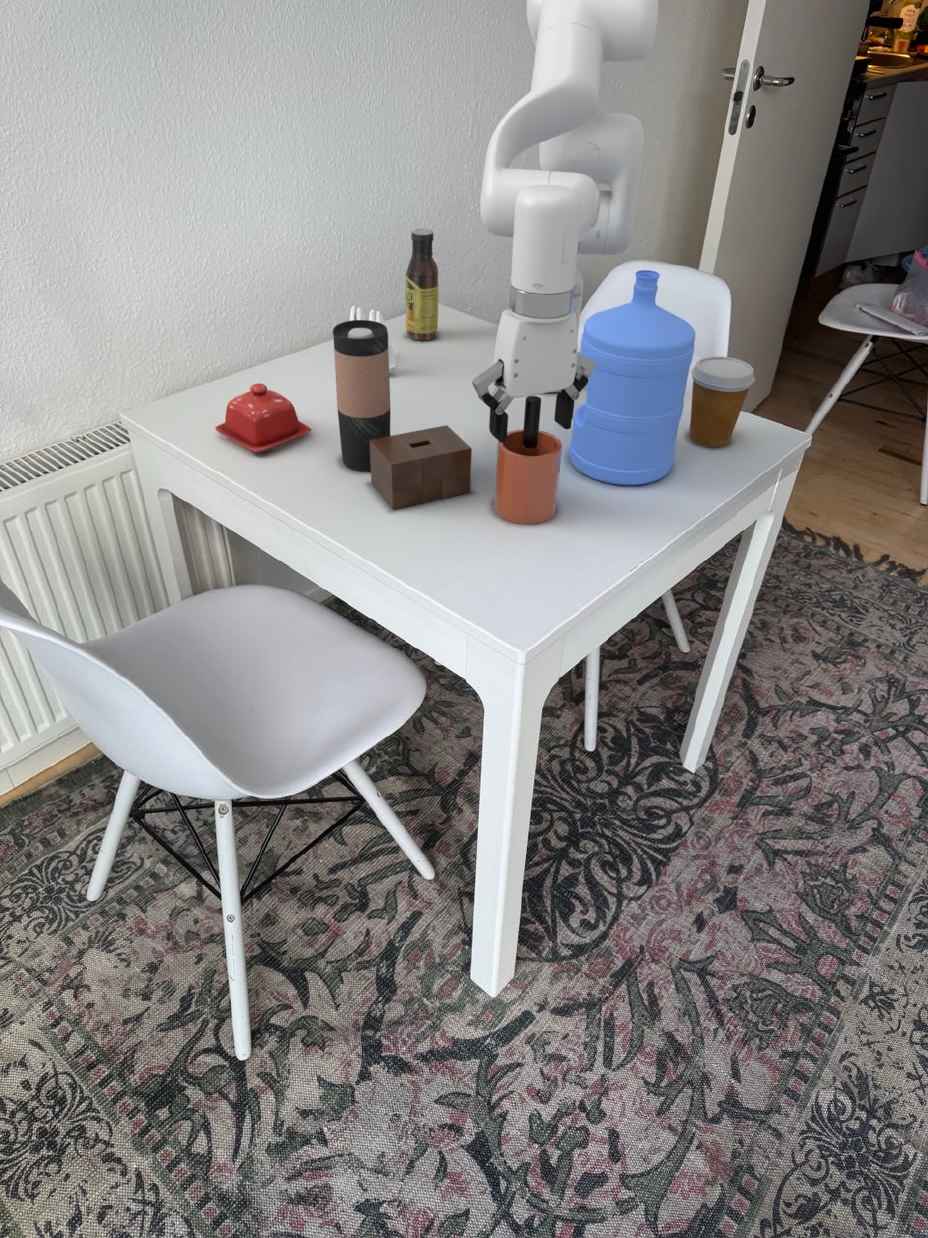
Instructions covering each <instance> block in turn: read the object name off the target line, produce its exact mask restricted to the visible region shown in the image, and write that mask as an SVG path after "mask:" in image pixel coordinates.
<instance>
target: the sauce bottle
mask: <svg viewBox="0 0 928 1238" xmlns="http://www.w3.org/2000/svg"><path fill="white" fill-rule="evenodd" d="M410 237H411V242H412V243H411V246H412V250H411V255H410V256H411V257H410V260H409V262H408V266H407V270H406V272H405V328H406V334H407V336H408V337H409V338H410V339H411V340H414V341H431V340H434V339H435V338H436V337H437V335H438V328H439V267H438V265H437V262H436V261H435V259H434V257H433V255H434V253H433V242H434V231H433V230H432V229H430V228H429V229H428V228H420V227H419V228H415V229H413V230H411V236H410Z"/></svg>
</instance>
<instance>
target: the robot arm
mask: <svg viewBox="0 0 928 1238" xmlns="http://www.w3.org/2000/svg"><path fill="white" fill-rule="evenodd" d="M526 18H527V25H528V30H529V33H530V37H531V39H532V43H533V45H534V48H535V53H534V61H533V69H532V76H531V84H530V86H531V87H530V91H529V92H528V93H527V94H526V95H525V96H523V97H522V98H521V99H520V100H518V101H517V102H516V103H515V104H514V105H512V107H511V108H510V109H509V110H508V112H507V113H506V114H505V115H504V116H503V118H502V119H501V120H500V122H499V123H498V124H497V126H496V128H495V129H494V131H493V132H492V135H491V137H490V139H489V142H488V146H487V149H486V154H485V158H484V159H485V160H484V167H483V173H482V181H481V182H482V183H481V189H480V197H479V198H480V200H479V212H480V217H481V218H480V219H481V223H482V224H483V226H484V228H485V230H486V231H488V232H489V233H490V234H492V235H494V236H497V237H504V238H512V253H511V254H512V255H511V273H510V288H509V289H510V290H509V291H510V292H509V306H508V307H509V308H507V309H504V310H503V311H502V313H501V316H500V317H501V318H500V320H499V324H498V328H497V332H496V336H495V337H496V338H495V343H494V350H493V352H494V353H493V358H492V365H491V366H489V367H488V368H487V369H485V370H484V371H483V372H481V373H480V374H479V375H477V376H476V377H474V378H473V379H472V381H471V385H472V386H473V389H474V391H475V392H476V394H477V397H478V399H479V400H480V401H482V403H484V404H485V405H486V406H487V407H488V408H489V424H488V430H489V432H490V434H491V435H492V437H494V438H495V439H496V440H497V442H498V441H499V442H501V443H504V442H506V441H507V432H508V426H509V425H508V424H509V414H508V413H507V412H506V410H507V408H509V406H510V404H511V403H512V402H513V400H514V399H519V398H526V397H528V396H537V395H542V394H547V393H550V394H551V393H552V394H553V393H557V394H556V398H555V406H554V418H553V419H554V422H555V423H556V424H557V425H559V426H560V427H562V428H563V429H565V430H570V429H572V420H573V419H574V413H575V412H574V411H575V402H576V401H577V400H579V398H580V395H581V394H580V393H581V392H582V391H583V389H584V388H585V387H586V386H587V383H588V378H589V377H590V375H591V373H592V372H593V370H594V368H595V366H596V363H595V362H594V361H592V360H591V359H589V358H587V357H585V356H583V355H581V353H580V351H578V348H579V347H578V345H579V343H578V342H579V341H578V340H579V331H580V330H579V328H580V320H581V310H582V299H583V291H584V278H583V274H582V272H581V270H580V268H579V266H578V265H577V261H578V255H592V256H619V255H623V254H625V253H626V252H627V251H628V249H629V248H630V246H631V243H632V241H633V236H634V231H635V225H636V217H637V211H638V202H639V196H640V188H641V180H642V172H643V163H644V154H645V132H644V131H645V130H644V127H643V125H642V122H641V121H640V120H639V119H638V118H637V117H636V116H634V115H631V114H628V113H613V112H601V111H600V98H601V97H600V96H601V89H602V88H601V87H602V78H603V77H602V71H603V62H613V63H642V62H644V61H645V60H646V59H647V58H648V57H649V55H650V53H651V51H652V49H653V46H654V43H655V41H656V37H657V36H656V35H657V30H658V22H659V2H658V0H526ZM536 145H539V149H538V158H539V160H538V161H539V167H540V169H529V168H509V167H510V165H511V163H513V161H514V160H515V159H516V158H517V157H518V156H519V155H520V154H521V153H523V152H525V151H527V150H528V149H529V148H532V147H534V146H536ZM597 184H605V185H606V186H607V187H609V189H610V190H607V189H606V190H605V189H598V185H597ZM579 367H580V368H579ZM491 384H492V385H493V386H495V388H494V390H493V391H492V392H491V393H490V390H489V386H490V385H491Z"/></svg>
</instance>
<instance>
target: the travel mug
mask: <svg viewBox="0 0 928 1238" xmlns="http://www.w3.org/2000/svg"><path fill="white" fill-rule="evenodd" d="M388 335H389V331H388V327H387V325H386V326H385V325H383V324H381V323H379V322H375V321H369V319H368V320H367V319H366V320H352V321H350V320H347V321H343V322H340V323H338V324H336V325H335V326H334V327H333V329H332V336H333V353H334V371H335V372H334V373H335V389H336V390H335V391H336V409H337V418H338V428H339V438H340V448H341V450H340V451H341V459H342V463H343V465H344V466H345V467H346V468H348V469H350V470H352V471H355V472H371V463H370V440H372V439H377V438H382V437H387V436H391V385H390V384H391V383H390V373H389V353H388Z"/></svg>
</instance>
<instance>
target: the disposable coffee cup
mask: <svg viewBox="0 0 928 1238" xmlns="http://www.w3.org/2000/svg"><path fill="white" fill-rule="evenodd" d="M690 372H691V378H692V393H691V406H690V407H691V408H690V411H691V412H690V423H689V424H690V425H689V438H690V440H691V441H692V442H693V443H695V444H697V445H699V446H702V447H707V448H722V447H725V446H727V445H729V444H730V441H731V438H732V435H733V433H734V430H735V427H736V425H737V422H738V419H739V416H740V414H741V412H742V408H743V407H744V403H745V400H746V398H747V395H748V392H749V389H750V388H751V387H752V385H753V384H754V383H755V381H756V377H755V375H754V368H753V366H752V365H751V364H749V363H748V362H745V361H744V360H741V359H739V358H734V357H730V356H721V355H720V356H718V355H716V356H715V355H714V356H706V357H702V358H699V359H698V360H696V363H695V365H694V367H693V368H692V369H691V371H690Z"/></svg>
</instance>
